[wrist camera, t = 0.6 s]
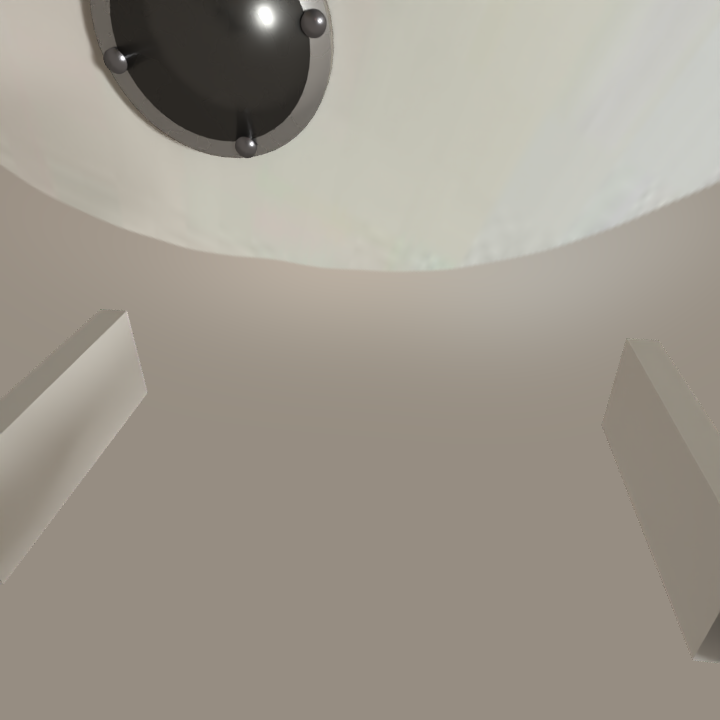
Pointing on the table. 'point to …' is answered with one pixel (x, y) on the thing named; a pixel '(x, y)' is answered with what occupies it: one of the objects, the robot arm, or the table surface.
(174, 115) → the metal device with knob
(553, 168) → the table surface
